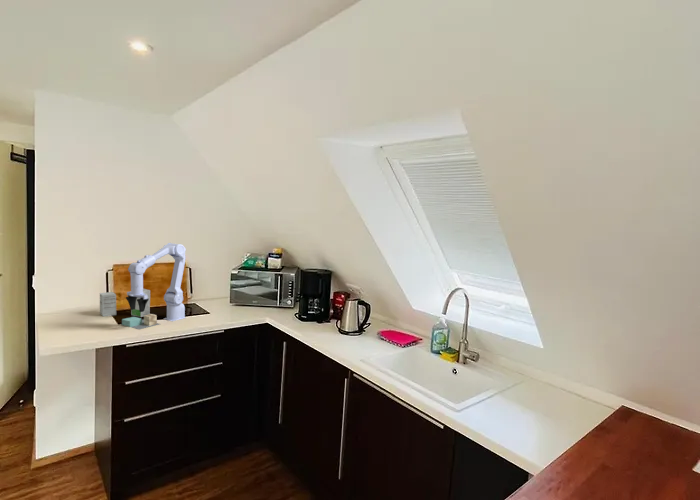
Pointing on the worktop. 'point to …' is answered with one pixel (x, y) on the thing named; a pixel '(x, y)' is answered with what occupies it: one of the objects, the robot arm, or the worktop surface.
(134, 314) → the skincare box
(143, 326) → the mat
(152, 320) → the maple block
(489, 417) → the worktop surface
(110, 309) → the supplement box
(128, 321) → the plinth
